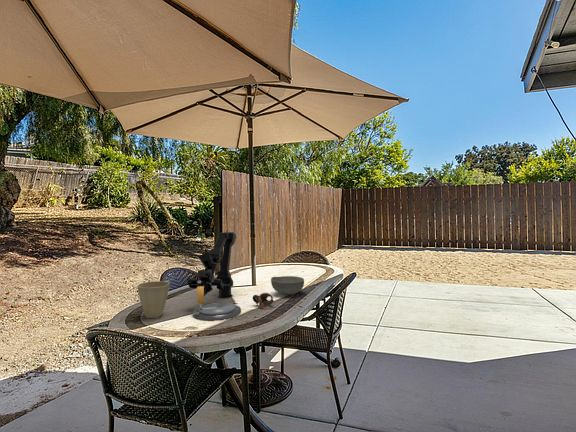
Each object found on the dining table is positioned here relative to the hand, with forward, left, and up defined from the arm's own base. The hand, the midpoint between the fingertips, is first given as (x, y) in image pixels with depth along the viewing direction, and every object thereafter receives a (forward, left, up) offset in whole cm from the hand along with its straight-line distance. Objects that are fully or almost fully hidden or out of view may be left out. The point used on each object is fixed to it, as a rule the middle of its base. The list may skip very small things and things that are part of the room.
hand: (200, 298), depth 178 cm
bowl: (-57, +5, -8) cm, 57 cm away
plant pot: (+18, -13, -8) cm, 24 cm away
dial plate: (-6, +5, -8) cm, 11 cm away
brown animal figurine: (-30, +13, -8) cm, 34 cm away
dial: (-6, +5, -6) cm, 10 cm away
